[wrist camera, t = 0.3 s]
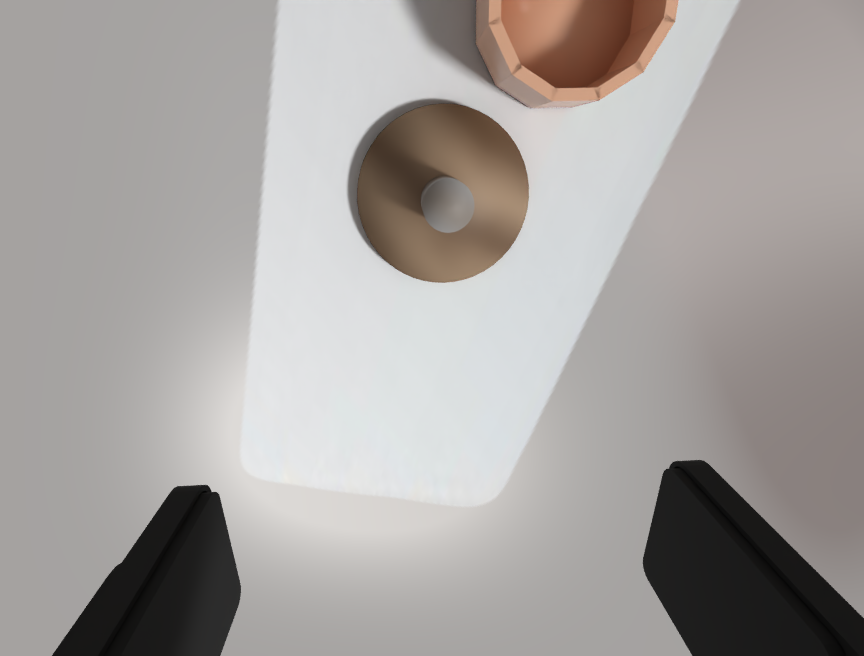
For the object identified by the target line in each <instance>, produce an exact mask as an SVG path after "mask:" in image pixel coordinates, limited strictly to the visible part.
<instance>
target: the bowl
mask: <svg viewBox="0 0 864 656" xmlns="http://www.w3.org/2000/svg"><path fill="white" fill-rule="evenodd" d="M677 6H678V0H476V45H477V47H478V49H479V51H480V54H481V56H482V58H483V60H484V62H485V64H486V66H487V68H488V70H489V72H490V74H491V77H492V79H493V81H494V83H495V85H496V86H497V87H499V88H500V89H502V90H503V91H505V92H506V93H508V94H509V95H511V96H512V97H514V98H515V99H517V100H518V101H520V102H521V103H523V104H525V105H526V106H528V107H529V108H566V107H570V108H571V107H575V106H579V105H583V104H587V103H591V102H595V101H599V100H600V99H602V98H603V97H605V96H606V95H608V94H610V93H611V92H613V91H614V90H616V89H617V88H619V87H621V86H622V85H624V84H625V83H627V82H628V81H630V80H632V79H633V78H635V77H636V76H638V75H639V74H641V73H643V72H644V70H645V69H646V67H647V65H648V64H649V62H650V61H651V59H652V57H653V56H654V54H655V53H656V51H657V49H658V48H659V46H660V45H661V43H662V41H663V40H664V38H665V37H666V35H667V33H668V32H669V30H670V29H671V27H672V26H673V24H674V22H675V18H676V12H677Z"/></svg>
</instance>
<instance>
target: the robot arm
mask: <svg viewBox="0 0 864 656" xmlns="http://www.w3.org/2000/svg"><path fill="white" fill-rule="evenodd" d="M643 567H644V572H645V574H646V577H647V579H648V581H649V582H650V584H651V586H652V587H653V589H654V591H655V592H656V594H657V596H658V598H659V599H660V601H661V603H662V604H663V606H664V608H665V609H666V611H667V613H668V615H669V616H670V618H671V620H672V622H673V623H674V625H675V626H676V628H677V630H678V632H679V634H680V635H681V637H682V639H683V640H684V642H685V644H686V646H687V647H688V649H689V650H690V652H691V654H692V656H864V618H863V617H862V616H861V615H860V614H859V613H857V611H856V610H854V608H853V607H852V606H851V605H850V604H849V603H848V602H847V601H845V599H844V598H843V597H842V596H841V595H840V594H839V593H837V591H836V590H834V588H833V587H831V585H829V583H828V582H826V580H825V579H824V578H823V577H821V576H820V574H819V573H818V572H816V570H815V569H813V567H811V565H809V564H808V563H807V562H806V561H805V560H804V559H803V558H802V557H801V556H800V555H799V554H798V553H797V552H796V551H795V550H794V549H793V548H792V547H791V546H790V545H789V544H788V543H787V542H786V541H785V540H784V539H783V538H782V537H781V536H780V535H779V534H778V533H777V532H776V531H775V530H774V529H773V528H772V527H771V526H770V525H769V524H768V523H767V522H766V521H765V520H764V519H763V518H762V517H761V516H760V515H759V514H758V513H757V512H756V511H755V510H754V509H753V508H752V507H751V506H750V505H749V504H748V503H747V502H746V501H745V500H744V499H743V498H742V497H741V496H740V495H739V494H738V493H737V492H736V491H735V490H734V489H733V488H732V487H731V486H730V485H729V484H728V483H727V482H726V481H725V480H724V479H723V478H722V477H721V476H720V475H719V474H718V473H717V472H716V471H715V470H714V469H713V468H712V467H711V466H710V465H709V464H708V463H706V462H705V461H702V460H691V461H675V462H673V463H672V464H671V465H670V467H669V469H666V470H665V471H664V473H663V476H662V480H661V485H660V489H659V493H658V497H657V502H656V506H655V511H654V515H653V519H652V523H651V527H650V532H649V536H648V540H647V544H646V549H645V553H644V557H643ZM240 593H241V585H240V580H239V576H238V572H237V568H236V563H235V559H234V555H233V551H232V547H231V542H230V539H229V534H228V530H227V525H226V521H225V517H224V513H223V508H222V504H221V500H220V496H219V494H218V493H217V492H211V489H210V488H209V486H208V485H196V486H177V487H175V488H174V489H173V490H172V491H171V492H170V494H169V495H168V497H167V498H166V500H165V501H164V502H163V504H162V505H161V507H160V508H159V510H158V511H157V512H156V514H155V515H154V517H153V518H152V520H151V521H150V523H149V524H148V525H147V527H146V528H145V530H144V531H143V533H142V534H141V536H140V537H139V539H138V540H137V542H136V543H135V544H134V546H133V547H132V549H131V550H130V551H129V553H128V554H127V556H126V558H125V559H124V560H123V562H122V563H120V564H119V565H117V566H116V567H115V568H114V569H113V570H112V572H111V573H110V574H109V575H108V577H107V578H106V579H105V581H104V582H103V584H102V585H101V587H100V588H99V589H98V591H97V592H96V594H95V595H94V597H93V598H92V599H91V601H90V602H89V604H88V605H87V606H86V608H85V609H84V611H83V612H82V614H81V615H80V616H79V618H78V619H77V621H76V622H75V624H74V625H73V626H72V628H71V629H70V631H69V632H68V634H67V635H66V636H65V638H64V639H63V641H62V642H61V644H60V645H59V646H58V648H57V649H56V651H55V652H54V653H53V655H52V656H220V655H221V652H222V649H223V646H224V644H225V641H226V638H227V635H228V633H229V630H230V627H231V624H232V622H233V619H234V616H235V613H236V611H237V608H238V605H239V600H240Z"/></svg>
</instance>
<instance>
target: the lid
mask: <svg viewBox="0 0 864 656" xmlns="http://www.w3.org/2000/svg"><path fill="white" fill-rule="evenodd" d="M528 199H529V185H528V177H527V172H526V168H525V164H524V161H523V159H522V156H521V154H520V151H519V150H518V148H517V146H516V144H515V143H514V141H513V140H512V138H511V137H510V136H509V134H508V133H507V132H506V131H505V130H504V129H503V128H502V127H501V126H500V125H499V124H498V123H497V122H495V121H494V120H493V119H491V118H490V117H489V116H487V115H485V114H483V113H481V112H479V111H477V110H475V109H472V108H469V107H466V106H461V105H456V104H433V105H427V106H423V107H419V108H417V109H414V110H412V111H409V112H407V113H405V114H403V115H402V116H400V117H398V118H397V119H395V120H394V121H393V122H392V123H390V124H389V125H388V126H387V127H386V128H385V129H384V130H383V131H382V132H381V133H380V134H379V135H378V136H377V138H376V139H375V141H374V142H373V143H372V145H371V147H370V148H369V150H368V152H367V154H366V156H365V159H364V161H363V164H362V166H361V170H360V175H359V179H358V188H357V202H358V209H359V215H360V219H361V222H362V225H363V228H364V230H365V232H366V235H367V237H368V238H369V240H370V242H371V244H372V245H373V247H374V248H375V249H376V251H377V252H378V253H379V254H380V255H381V256H382V257H383V258H384V259H385V260H386V261H387V262H388V263H389V264H390V265H392V266H393V267H394V268H396V269H397V270H399V271H401V272H402V273H404V274H406V275H409V276H411V277H413V278H416V279H420V280H423V281H429V282H443V283H445V282H455V281H459V280H464V279H467V278H470V277H473V276H475V275H477V274H479V273H481V272H483V271H485V270H486V269H488V268H489V267H491V266H492V265H494V264H495V263H496V262H497V261H498V260H499V259H500V258H502V257H503V255H504V254H505V253H506V252H507V251H508V250H509V248H510V247H511V246H512V244H513V243H514V241H515V240H516V238H517V236H518V234H519V232H520V230H521V228H522V225H523V222H524V220H525V216H526V212H527V207H528Z"/></svg>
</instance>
